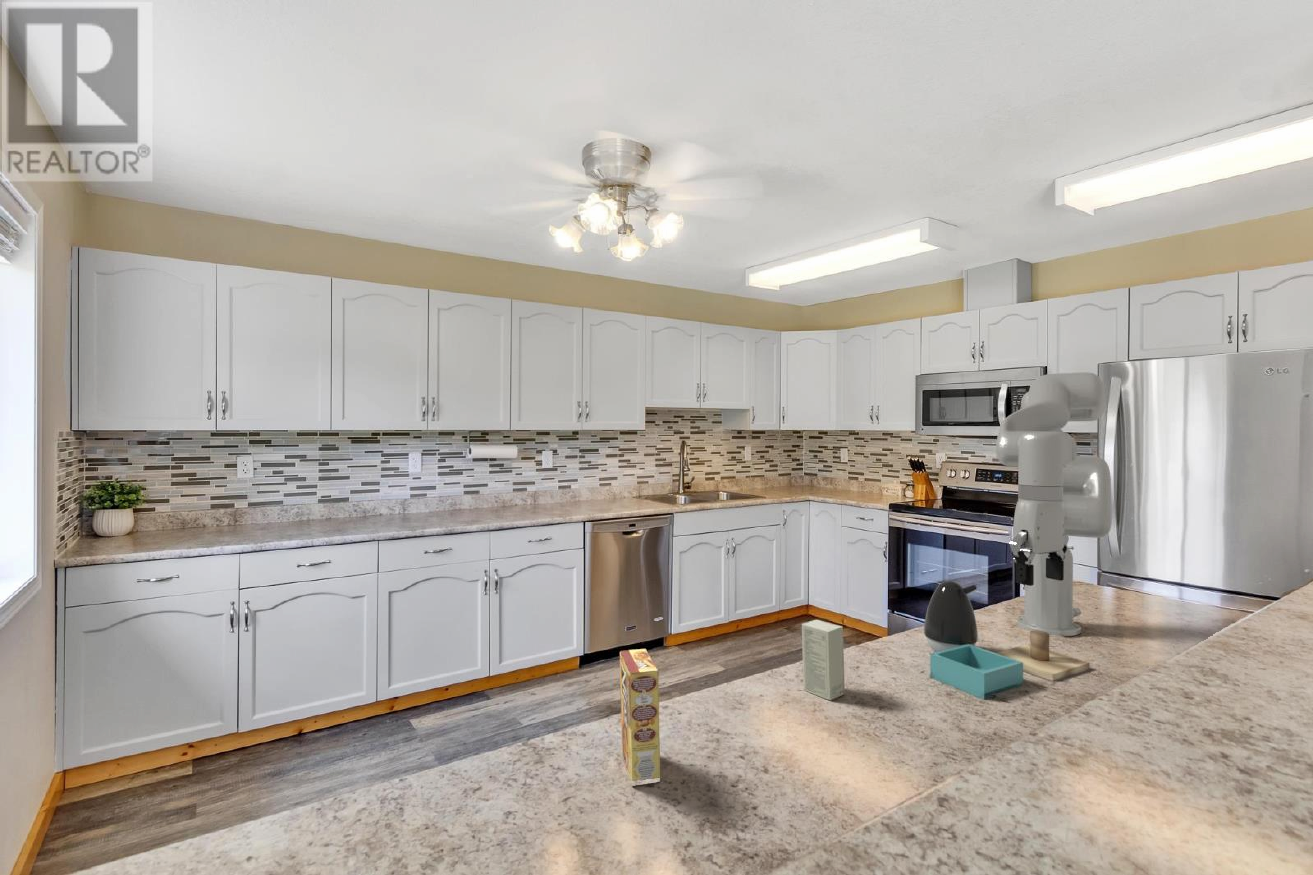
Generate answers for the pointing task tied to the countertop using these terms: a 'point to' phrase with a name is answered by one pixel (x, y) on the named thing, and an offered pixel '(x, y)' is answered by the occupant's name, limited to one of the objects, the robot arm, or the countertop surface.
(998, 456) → the robot arm
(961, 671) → the dish
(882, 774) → the countertop surface
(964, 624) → the pump dispenser
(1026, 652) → the lid
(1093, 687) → the countertop surface
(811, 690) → the skincare box
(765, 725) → the countertop surface
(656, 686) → the candy box
